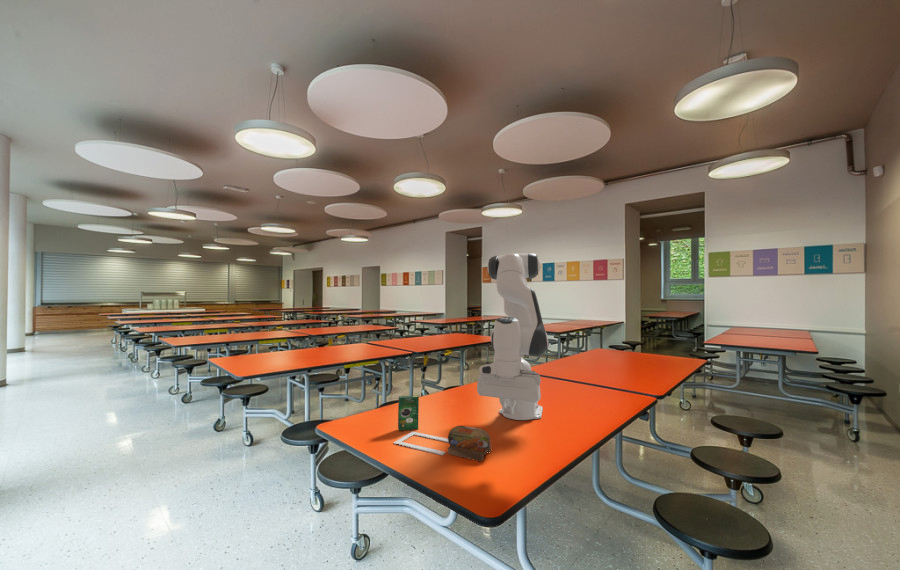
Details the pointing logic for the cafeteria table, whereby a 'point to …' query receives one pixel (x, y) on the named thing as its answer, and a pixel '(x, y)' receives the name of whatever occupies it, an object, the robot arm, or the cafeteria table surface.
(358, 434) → the cafeteria table surface
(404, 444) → the frame
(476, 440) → the tin
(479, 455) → the dark brown parallel bars
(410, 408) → the coffee box
